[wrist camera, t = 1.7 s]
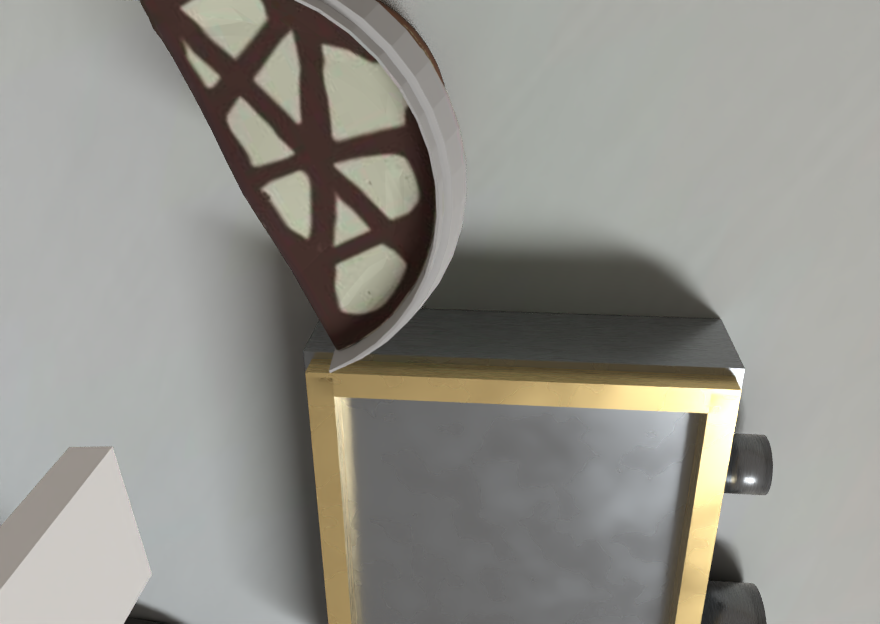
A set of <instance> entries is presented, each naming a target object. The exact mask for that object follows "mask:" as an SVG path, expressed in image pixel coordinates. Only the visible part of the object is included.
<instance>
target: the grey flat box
mask: <svg viewBox="0 0 880 624" xmlns="http://www.w3.org/2000/svg"><path fill="white" fill-rule="evenodd" d="M334 350H335V346H334V345H333V343H332V341H331V339H330V337H329V336H328V334H327V332H326V330H325V329H324V327H323V325H322V323H321V321H320V320H319V322H318V324H317V326H316V328H315V330H314V332H313V334H312V336H311V338H310V339H309V341H308V343H307V345H306V347H305V349H304V351H303V354H304V365H305V376H306V387H307V397H308V408H309V419H310V430H311V441H312V452H313V463H314V473H315V484H316V495H317V506H318V517H319V528H320V539H321V549H322V560H323V571H324V582H325V593H326V604H327V615H328V624H767V623H766V616H765V610H764V605H763V601H762V598H761V595H760V593H759V591H758V589H757V587H756V586H755V585H754V584H753V583H740V582H723V581H708V579H709V573H710V567H711V561H712V556H713V550H714V544H715V538H716V533H717V527H718V521H719V516H720V510H721V504H722V498H723V493H732V494H751V495H766V494H767V493H768V491H769V489H770V486H771V482H772V473H773V461H772V452H771V447H770V443H769V441H768V439H767V437H766V436H765V435H756V434H734V430H735V424H736V418H737V413H738V407H739V401H740V395H741V388H742V382H743V376H744V370H745V368H744V366H743V364H742V362H741V360H740V358H739V355H738V353H737V351H736V349H735V347H734V345H733V343H732V341H731V339H730V337H729V335H728V333H727V330H726V328H725V326H724V324H723V322H722V320H721V319H703V318H673V317H643V316H614V315H584V314H554V313H524V312H494V311H464V310H435V309H419V310H418V311H417V312H416V313H415V315H414V316H413V317H412V318H411V319H410V320H409V321H408V323H406V324H405V325H404V326H403V327H402V328H401V329H400V330H399V331H398V332H397V333H396V334H395V335H394V336H393V337H392V338H390V339H389V340H388V341H387V342H386V343H385V344H383V345H382V346H380V347H379V348H377V349H376V350H374V351H373V352H371V353H370V354H368V355H367V356H365V357H364V358H362V359H360V360H358V361H355V362H353V363H351V364H349V365H347V366H345V367H342V368H340V369H338V370H335V371H333V372H331V373H330V372H329V368H330V365H331V361H332V358H333V354H334Z"/></svg>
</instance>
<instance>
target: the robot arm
mask: <svg viewBox="0 0 880 624" xmlns="http://www.w3.org/2000/svg"><path fill="white" fill-rule="evenodd" d="M151 575H152V572H151V569H150V566H149V563H148V559H147V556H146V553H145V550H144V546H143V543H142V540H141V537H140V534H139V530H138V527H137V524H136V521H135V517H134V514H133V511H132V508H131V504H130V501H129V498H128V495H127V491H126V488H125V485H124V482H123V479H122V475H121V472H120V469H119V466H118V462H117V459H116V456H115V453H114V449H113V446H112V447H69V448H68V449H67V450H66V451H65V453H64V454H63V455H62V456H61V457H60V458H59V460H58V461H57V462H56V463H55V464H54V465H53V466H52V468H51V469H50V470H49V471H48V472H47V473H46V475H45V476H44V477H43V478H42V479H41V480H40V482H39V483H38V484H37V485H36V486H35V487H34V488H33V490H32V491H31V492H30V493H29V494H28V495H27V497H26V498H25V499H24V500H23V501H22V502H21V503H20V505H19V506H18V507H17V508H16V509H15V510H14V512H13V513H12V514H11V515H10V516H9V517H8V518H7V520H6V521H5V522H4V523H3V524H2V525H1V527H0V624H160V623H156V622H151V621H147V620H140V619H132V618H127V617H128V615H129V614H130V612H131V610H132V608H133V607H134V605H135V603H136V601H137V600H138V598H139V596H140V594H141V593H142V591H143V589H144V587H145V586H146V584H147V582H148V580H149V579H150V577H151Z"/></svg>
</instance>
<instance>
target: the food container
mask: <svg viewBox="0 0 880 624" xmlns="http://www.w3.org/2000/svg"><path fill="white" fill-rule="evenodd" d="M135 1H140V2H141V4H142V6H143V8H144V10H145V12H146V14H147V15H148V17H149V19H150V22H151V24H152V27H153V29H154V30H155V31H156V33H157V34H158V35H159V37H160V38H161V39H162V41H163V42H164V44H165V46H166V47H167V49H168V51H169V52H170V54H171V55H172V57H173V59H174V61H175V62H176V64H177V66H178V68H179V70H180V72H181V73H182V75H183V77H184V79H185V81H186V83H187V84H188V86H189V88H190V90H191V92H192V93H193V95H194V97H195V99H196V101H197V103H198V105H199V107H200V109H201V111H202V113H203V114H204V116H205V118H206V120H207V122H208V124H209V126H210V128H211V130H212V132H213V134H214V136H215V138H216V140H217V142H218V145H219V147H220V149H221V151H222V153H223V155H224V157H225V159H226V161H227V163H228V165H229V167H230V169H231V171H232V173H233V175H234V177H235V179H236V181H237V183H238V185H239V187H240V189H241V191H242V193H243V195H244V196H245V198H246V200H247V201H248V203H249V204H250V206H251V208H252V209H253V211H254V212H255V214H256V215H257V217H258V219H259V220H260V222H261V223H262V225H263V226H264V228H265V229H266V231H267V232H268V234H269V235H270V237H271V238H272V240H273V241H274V243H275V245H276V246H277V248H278V249H279V251H280V253H281V254H282V256H283V257H284V259H285V261H286V262H287V264H288V265H289V267H290V269H291V270H292V272H293V274H294V275H295V277H296V279H297V281H298V283H299V284H300V286H301V288H302V290H303V291H304V293H305V295H306V297H307V298H308V300H309V302H310V304H311V306H312V307H313V309H314V311H315V313H316V314H317V316H318V318H319V320H320V321H321V323H322V325H323V327H324V329H325V330H326V332H327V334H328V336H329V337H330V339H331V341H332V343H333V345H334V346H335V350H334V354H333V358H332V361H331V365H330V368H329V372H330V373H331V372H333V371H335V370H338V369H340V368H342V367H345V366H347V365H349V364H351V363H353V362H355V361H358V360H360V359H362V358H364V357H365V356H367V355H368V354H370V353H371V352H373V351H374V350H376V349H377V348H379V347H380V346H382V345H383V344H385V343H386V342H387V341H388V340H389V339H390V338H392V337H393V336H394V335H395V334H396V333H397V332H398V331H399V330H400V329H401V328H402V327H403V326H404V325H405V324H406V323H408V321H409V320H410V319H411V318H412V317H413V316H414V315H415V313H416V312H417V311H418V310H419V309H420V308H421V307H422V305H423V304H424V303H425V301H426V300H427V299H428V297H429V296H430V295H431V293H432V292H433V291H434V289H435V288H436V287H437V285H438V284H439V283H440V281H441V279H442V277H443V275H444V273H445V271H446V269H447V267H448V265H449V263H450V261H451V259H452V257H453V255H454V251H455V248H456V245H457V242H458V239H459V236H460V232H461V229H462V226H463V219H464V211H465V204H466V197H467V179H466V158H465V153H464V147H463V142H462V137H461V131H460V126H459V124H458V121H457V118H456V115H455V112H454V110H453V107H452V104H451V101H450V98H449V95H448V93H447V91H446V89H445V86H444V82H443V79H442V76H441V73H440V70H439V67H438V65H437V63H436V61H435V59H434V57H433V55H432V53H431V51H430V50H429V48H428V46H427V45H426V43H425V42H424V41H423V39H422V38H421V37H420V35H419V34H418V33H417V31H416V30H415V29H414V28H413V27H412V26H411V25H410V24H409V23H408V22H407V21H406V20H405V19H404V18H403V17H402V16H401V15H399V14H398V13H397V12H395V11H394V10H392V9H391V8H390V7H388V6H387V5H385V4H384V3H382V2H381V1H379V0H135Z"/></svg>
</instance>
